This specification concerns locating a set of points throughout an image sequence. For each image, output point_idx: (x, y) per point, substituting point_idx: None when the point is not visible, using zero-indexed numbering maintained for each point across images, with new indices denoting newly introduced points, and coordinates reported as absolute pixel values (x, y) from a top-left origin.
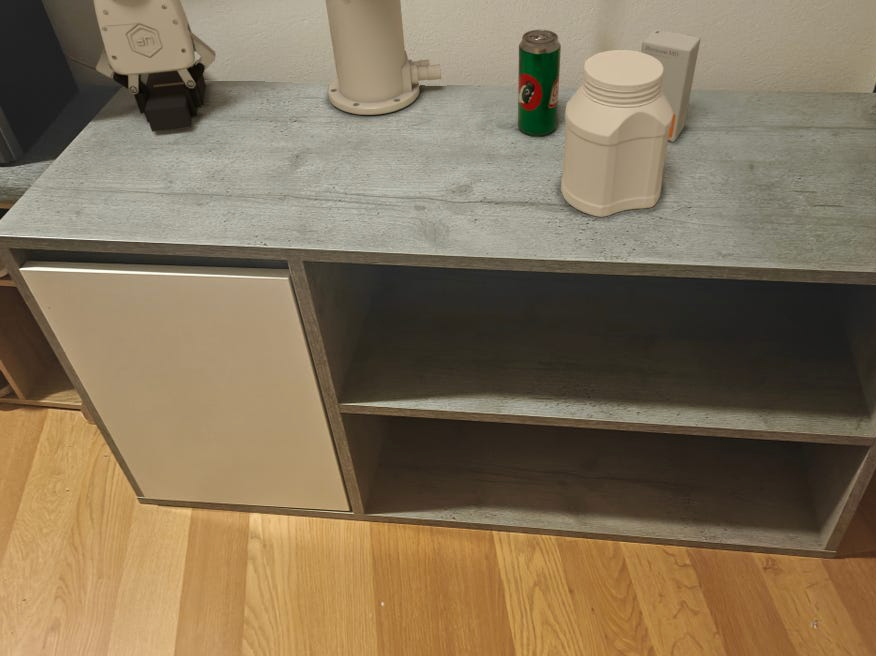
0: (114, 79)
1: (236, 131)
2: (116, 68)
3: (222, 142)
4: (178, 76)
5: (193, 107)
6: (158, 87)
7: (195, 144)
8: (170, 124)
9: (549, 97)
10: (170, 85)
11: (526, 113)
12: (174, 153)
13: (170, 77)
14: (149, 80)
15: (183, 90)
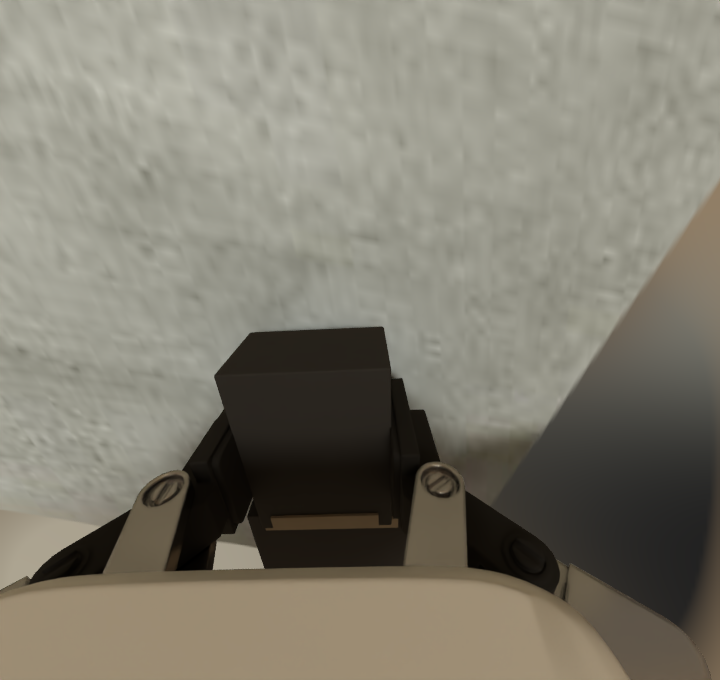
0: (545, 549)
1: (110, 309)
2: (582, 655)
3: (127, 241)
4: (321, 559)
5: None
6: (360, 512)
7: (225, 243)
8: (311, 337)
9: None
10: (318, 516)
11: None
12: (287, 185)
13: (343, 557)
14: (404, 552)
15: (218, 463)
